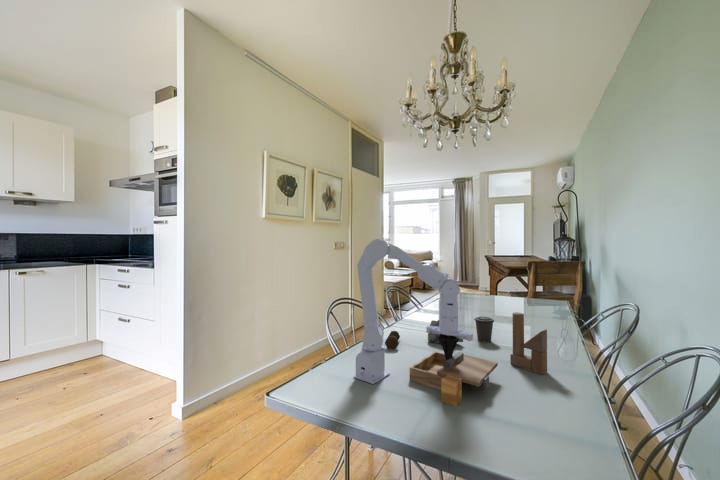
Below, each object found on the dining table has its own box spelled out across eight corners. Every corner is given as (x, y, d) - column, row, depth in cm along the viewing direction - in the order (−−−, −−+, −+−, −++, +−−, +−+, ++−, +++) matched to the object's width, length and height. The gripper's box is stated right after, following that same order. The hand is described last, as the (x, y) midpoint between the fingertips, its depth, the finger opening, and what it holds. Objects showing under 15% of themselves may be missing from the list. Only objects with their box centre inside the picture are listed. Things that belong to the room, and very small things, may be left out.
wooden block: (542, 375, 100) (541, 319, 100) (510, 364, 109) (509, 313, 109) (547, 372, 102) (547, 317, 102) (515, 362, 111) (515, 311, 111)
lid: (481, 394, 83) (481, 377, 83) (437, 381, 91) (436, 365, 91) (500, 372, 97) (500, 357, 97) (460, 362, 105) (460, 348, 105)
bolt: (396, 342, 139) (393, 353, 124) (387, 336, 140) (382, 346, 125) (403, 331, 139) (400, 340, 124) (393, 325, 140) (389, 333, 125)
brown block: (455, 406, 82) (455, 383, 82) (441, 402, 84) (441, 379, 84) (461, 400, 85) (461, 378, 85) (447, 396, 87) (447, 374, 87)
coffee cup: (470, 339, 137) (470, 316, 137) (483, 336, 141) (483, 314, 141) (484, 344, 130) (484, 320, 130) (498, 341, 133) (498, 318, 133)
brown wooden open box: (446, 391, 90) (446, 378, 90) (409, 380, 97) (409, 367, 97) (468, 371, 104) (468, 359, 104) (434, 362, 111) (434, 351, 111)
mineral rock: (464, 346, 129) (464, 321, 129) (445, 350, 124) (444, 325, 124) (443, 337, 140) (442, 315, 140) (424, 341, 135) (424, 318, 135)
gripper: (476, 317, 97) (476, 360, 97) (433, 310, 106) (433, 350, 106) (468, 321, 92) (468, 368, 92) (423, 314, 101) (423, 356, 101)
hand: (448, 359), depth 98 cm, fingers closed
